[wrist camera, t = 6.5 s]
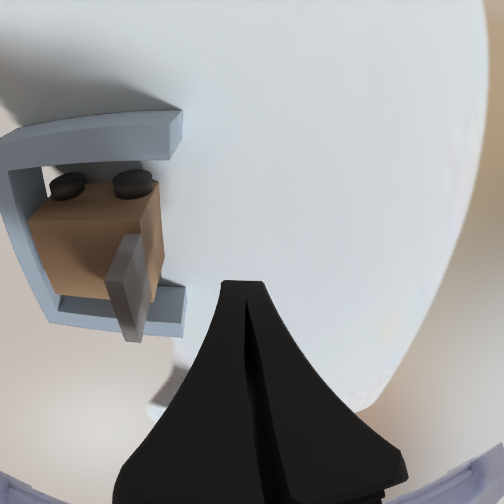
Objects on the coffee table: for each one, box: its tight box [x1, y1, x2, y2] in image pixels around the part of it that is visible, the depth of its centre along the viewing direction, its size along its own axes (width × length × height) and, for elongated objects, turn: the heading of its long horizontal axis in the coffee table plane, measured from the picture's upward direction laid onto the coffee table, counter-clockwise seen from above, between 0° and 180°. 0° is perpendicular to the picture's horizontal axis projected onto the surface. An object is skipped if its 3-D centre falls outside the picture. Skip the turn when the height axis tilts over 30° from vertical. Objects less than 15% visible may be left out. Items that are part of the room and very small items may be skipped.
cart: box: [27, 170, 165, 343], centre depth 10 cm, size 5×5×6 cm
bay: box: [0, 110, 187, 338], centre depth 11 cm, size 10×8×2 cm
